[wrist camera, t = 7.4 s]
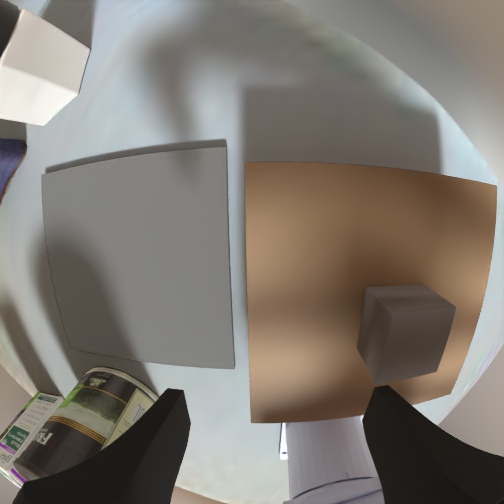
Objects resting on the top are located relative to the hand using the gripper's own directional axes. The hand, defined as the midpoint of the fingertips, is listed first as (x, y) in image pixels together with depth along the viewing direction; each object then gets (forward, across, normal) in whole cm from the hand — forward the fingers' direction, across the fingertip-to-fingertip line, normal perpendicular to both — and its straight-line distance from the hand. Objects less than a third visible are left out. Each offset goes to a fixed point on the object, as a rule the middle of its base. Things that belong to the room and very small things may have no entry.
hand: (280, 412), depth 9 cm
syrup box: (+10, +26, +18) cm, 34 cm away
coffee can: (+10, +14, +13) cm, 22 cm away
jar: (+12, +19, -19) cm, 29 cm away
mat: (+11, +11, -2) cm, 15 cm away
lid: (+5, -6, -2) cm, 8 cm away
